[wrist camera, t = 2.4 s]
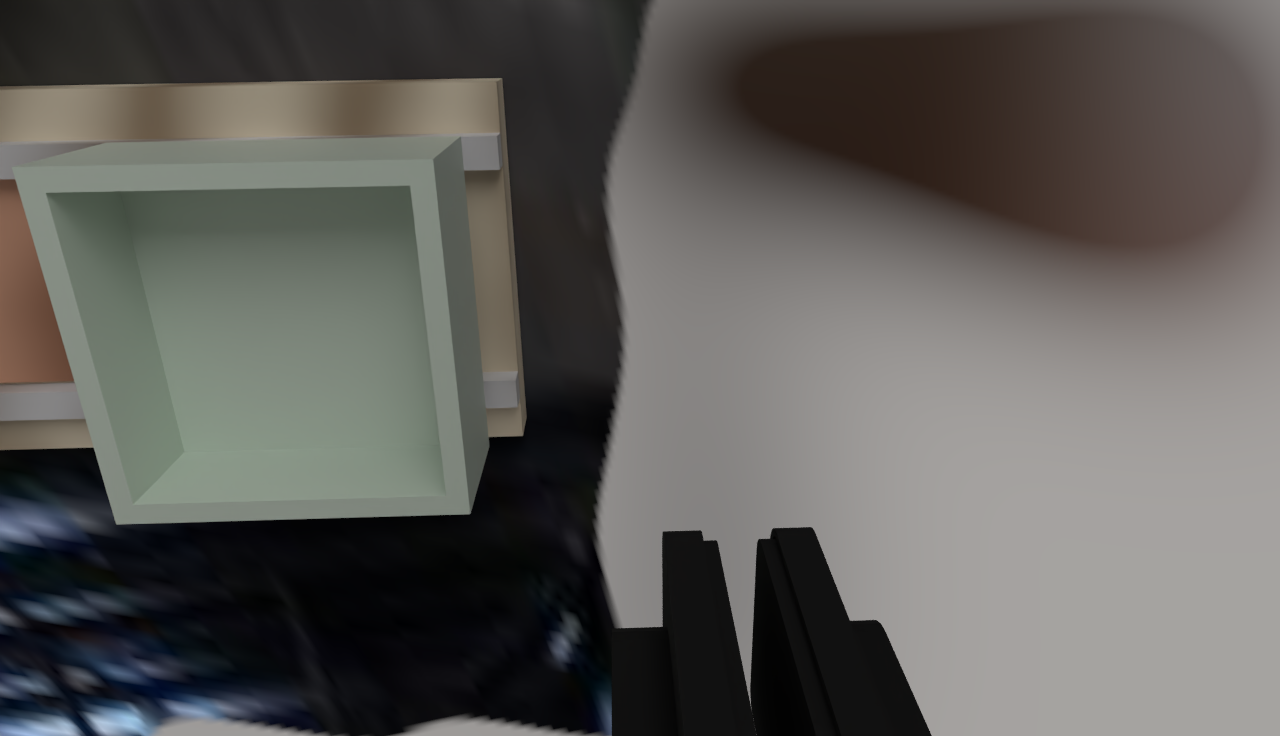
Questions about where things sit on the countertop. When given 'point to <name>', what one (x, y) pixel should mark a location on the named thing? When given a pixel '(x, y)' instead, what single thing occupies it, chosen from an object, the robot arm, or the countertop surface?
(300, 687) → the countertop surface
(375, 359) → the sage green storage bin
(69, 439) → the track
